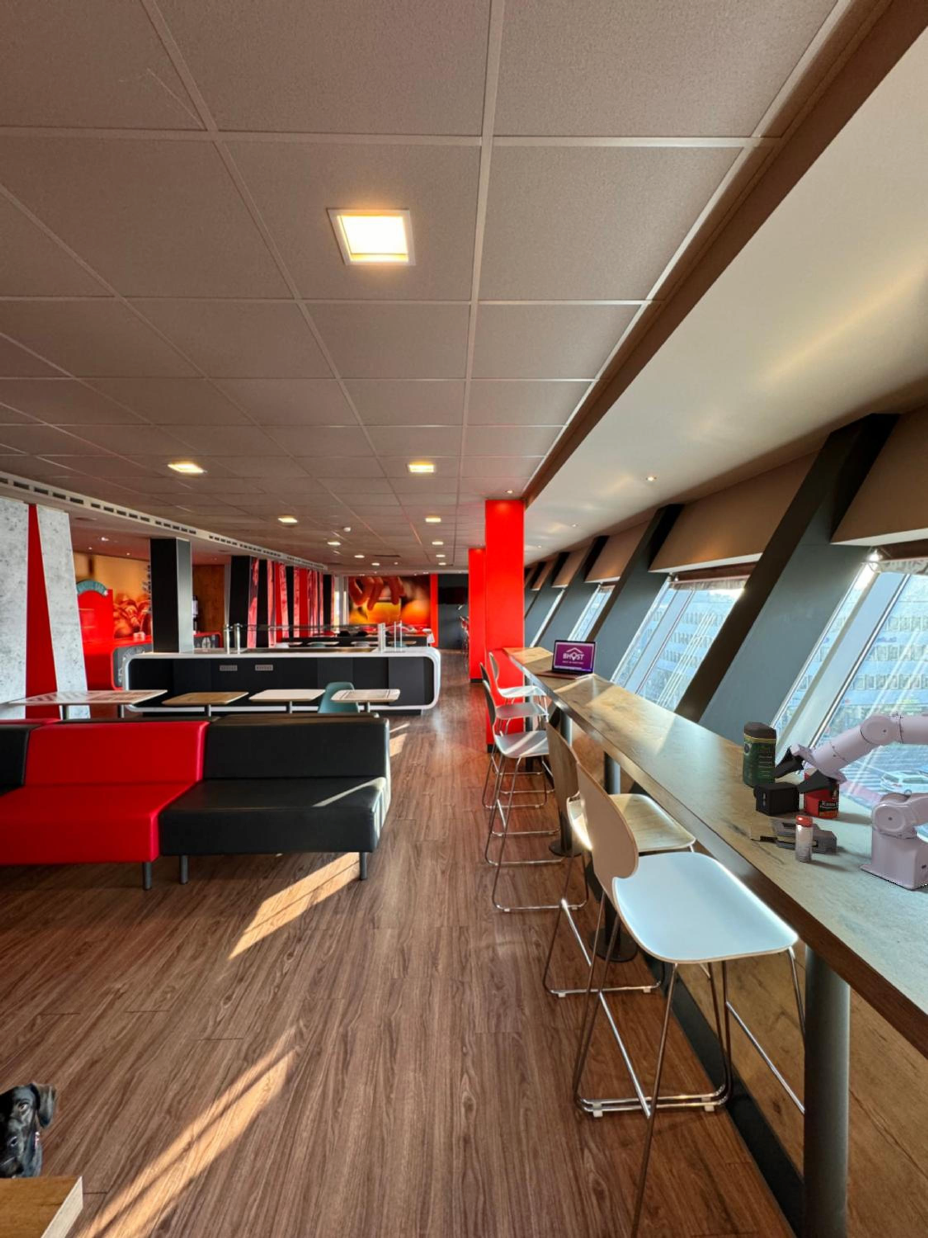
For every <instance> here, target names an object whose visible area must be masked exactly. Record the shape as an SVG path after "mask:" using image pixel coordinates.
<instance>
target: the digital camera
mask: <svg viewBox="0 0 928 1238" xmlns="http://www.w3.org/2000/svg"><path fill="white" fill-rule="evenodd" d="M797 785H798V784H794V783H792V782H789V781H779V782H775V783H768V784H763V783H758V784H757V785H756V786H755V787H753V791H752V793H753V797H754V798H755V811H756V812H758V813H761V814H762V813H763V815H765V816H766V817H774V816H775V817H776V816H780V815H781V814H782V815H788V814H787V813H789V814H796V813H800V800H801V797H800V796H801V794H800V793H799V791H798V789H797Z"/></svg>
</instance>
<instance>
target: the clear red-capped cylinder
mask: <svg viewBox="0 0 928 1238" xmlns="http://www.w3.org/2000/svg"><path fill="white" fill-rule="evenodd" d="M795 819H796V820H795V821H796V845H795V849H794V853H795V854H794V855H795V856H794V857H795V860H796V861H798V862H800V863H803V864H804V863H805V864H810V863H812V862H813V860H812V859H813V852H812V834H813V823H814V819H813V817H812V816H809V815H802V814H798V815H796V818H795Z"/></svg>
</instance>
